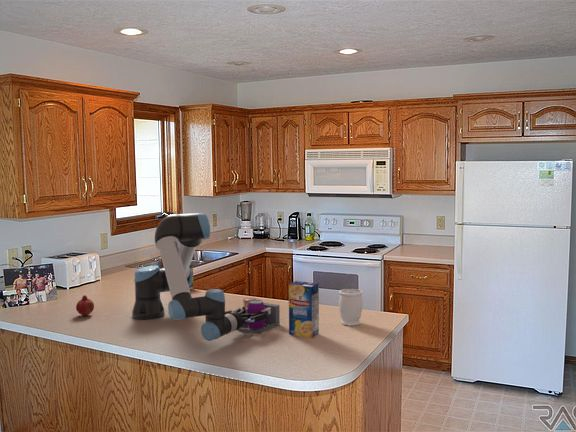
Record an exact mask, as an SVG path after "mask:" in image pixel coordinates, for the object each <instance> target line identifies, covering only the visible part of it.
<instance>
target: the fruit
mask: <svg viewBox="0 0 576 432" xmlns="http://www.w3.org/2000/svg"><path fill="white" fill-rule="evenodd" d="M75 309H76V311H77V313H78V314H80V315H81V316H83V317H84V316H88V315H90V314H91V313H93V311H94V309H95V303H94V302H93V300H91V299H90V298H88V296H87V295H83V296H82V297H81V299H79V300H78V301H77V303H76V305H75Z"/></svg>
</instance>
